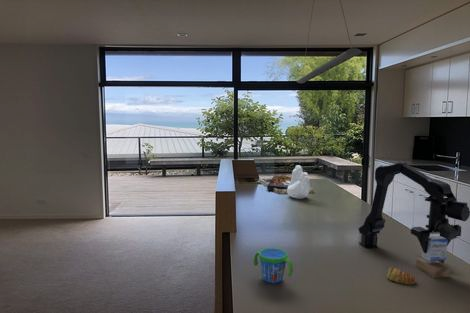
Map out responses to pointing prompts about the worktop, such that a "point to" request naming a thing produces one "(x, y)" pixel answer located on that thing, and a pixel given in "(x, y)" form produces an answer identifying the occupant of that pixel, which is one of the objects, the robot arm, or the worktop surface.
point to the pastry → (400, 276)
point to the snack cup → (273, 264)
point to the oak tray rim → (264, 182)
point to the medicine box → (436, 249)
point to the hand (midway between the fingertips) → (433, 252)
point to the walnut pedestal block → (433, 268)
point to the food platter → (279, 182)
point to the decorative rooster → (298, 183)
